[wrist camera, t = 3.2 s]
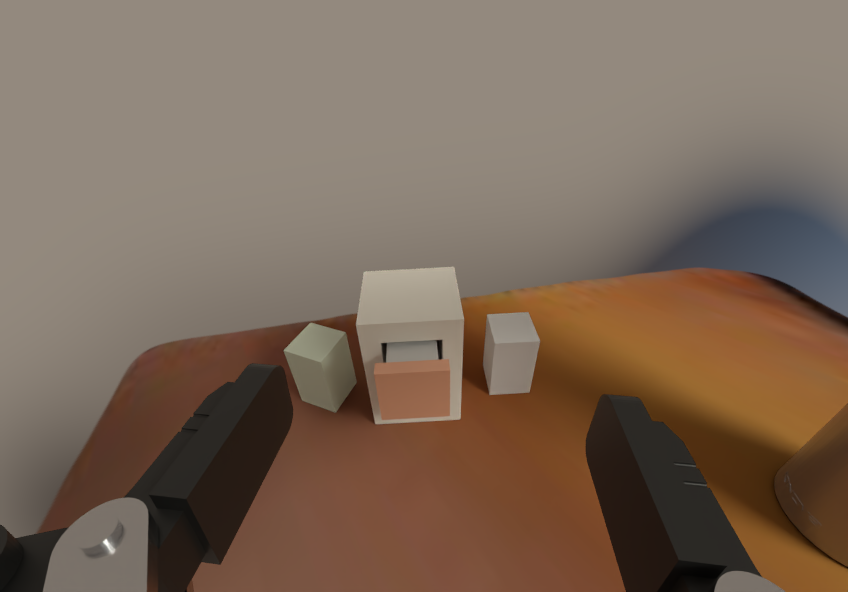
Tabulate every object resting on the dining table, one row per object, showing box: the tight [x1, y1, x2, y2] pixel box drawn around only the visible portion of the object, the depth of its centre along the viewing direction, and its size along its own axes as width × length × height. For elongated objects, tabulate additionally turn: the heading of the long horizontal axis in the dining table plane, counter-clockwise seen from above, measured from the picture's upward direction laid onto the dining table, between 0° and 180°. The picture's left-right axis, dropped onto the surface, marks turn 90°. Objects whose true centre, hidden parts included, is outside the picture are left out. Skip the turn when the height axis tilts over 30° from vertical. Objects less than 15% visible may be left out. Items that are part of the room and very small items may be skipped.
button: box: [374, 340, 450, 420], centre depth 35 cm, size 9×6×6 cm, turn 2°
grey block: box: [483, 312, 540, 395], centre depth 42 cm, size 4×4×8 cm
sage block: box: [283, 323, 357, 413], centre depth 41 cm, size 4×4×8 cm
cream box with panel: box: [356, 267, 464, 424], centre depth 39 cm, size 8×9×14 cm
